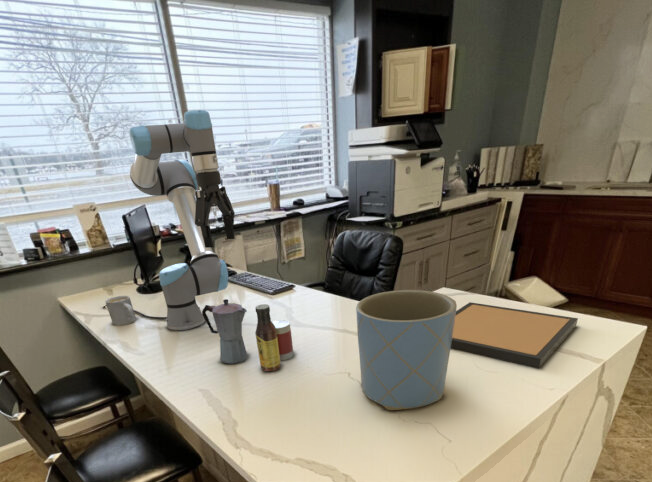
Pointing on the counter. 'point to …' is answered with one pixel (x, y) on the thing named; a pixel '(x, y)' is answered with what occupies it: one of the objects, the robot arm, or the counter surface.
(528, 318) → the framed cork board
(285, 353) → the tin can
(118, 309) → the coffee mug
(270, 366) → the sauce bottle
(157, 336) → the counter surface
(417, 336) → the planter
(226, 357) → the moka pot
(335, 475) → the counter surface
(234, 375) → the counter surface
